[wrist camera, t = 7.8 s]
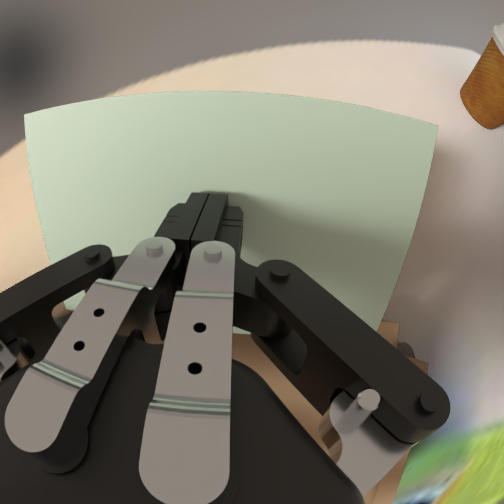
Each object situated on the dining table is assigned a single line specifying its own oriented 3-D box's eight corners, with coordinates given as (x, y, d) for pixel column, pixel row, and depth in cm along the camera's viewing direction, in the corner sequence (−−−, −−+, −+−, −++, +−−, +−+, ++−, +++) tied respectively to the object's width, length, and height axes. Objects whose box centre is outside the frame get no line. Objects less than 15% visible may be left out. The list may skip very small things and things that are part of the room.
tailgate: (373, 337, 16) (437, 125, 10) (66, 309, 16) (24, 114, 10) (365, 313, 18) (415, 119, 12) (81, 288, 18) (49, 108, 12)
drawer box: (362, 490, 18) (399, 550, 9) (71, 458, 18) (19, 500, 9) (394, 320, 20) (469, 328, 11) (62, 291, 20) (-15, 285, 12)
